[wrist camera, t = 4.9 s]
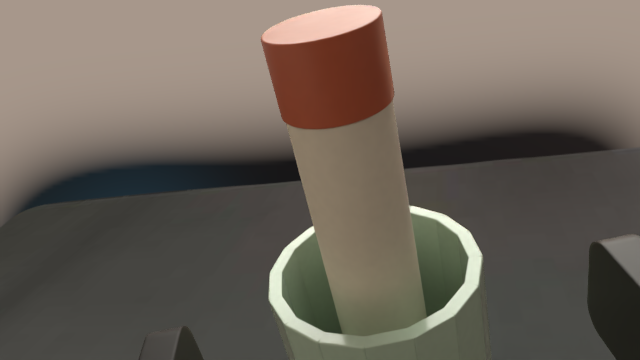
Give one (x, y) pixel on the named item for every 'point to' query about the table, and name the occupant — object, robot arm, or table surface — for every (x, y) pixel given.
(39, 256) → the table surface
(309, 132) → the marker
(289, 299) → the pen pot
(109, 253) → the table surface
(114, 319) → the table surface
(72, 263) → the table surface
